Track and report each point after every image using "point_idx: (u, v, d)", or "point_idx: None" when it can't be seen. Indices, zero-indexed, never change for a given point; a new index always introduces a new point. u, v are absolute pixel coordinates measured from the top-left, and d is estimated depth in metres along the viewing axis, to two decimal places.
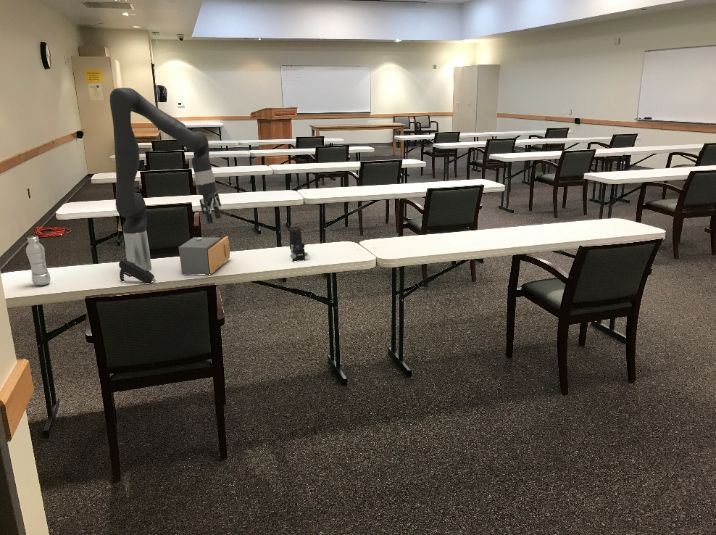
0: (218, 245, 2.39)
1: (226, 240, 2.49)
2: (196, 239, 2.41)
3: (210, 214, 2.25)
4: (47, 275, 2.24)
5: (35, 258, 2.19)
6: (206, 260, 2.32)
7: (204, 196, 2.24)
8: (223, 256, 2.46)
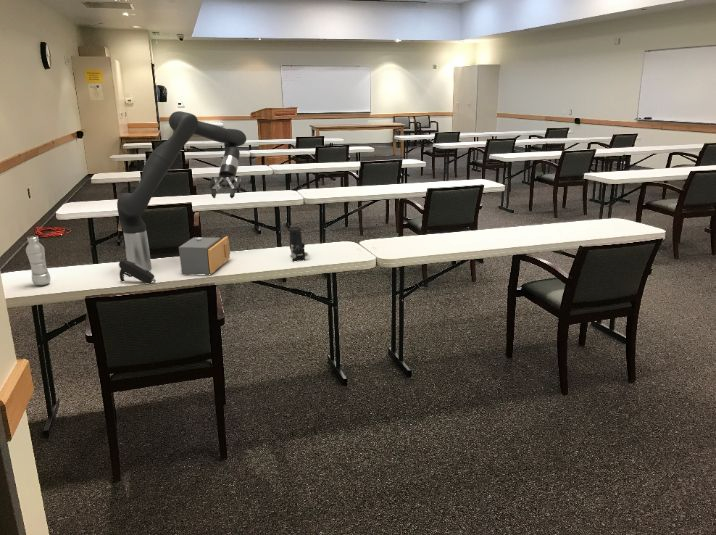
0: (218, 245, 2.39)
1: (226, 240, 2.49)
2: (196, 239, 2.41)
3: None
4: (47, 275, 2.24)
5: (35, 258, 2.19)
6: (206, 260, 2.32)
7: (234, 177, 2.59)
8: (223, 256, 2.46)
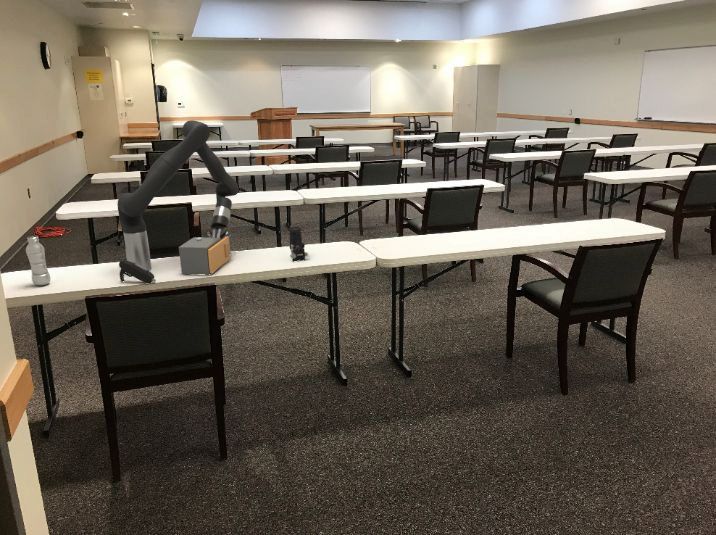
0: (218, 245, 2.39)
1: (226, 240, 2.49)
2: (196, 239, 2.41)
3: None
4: (47, 275, 2.24)
5: (35, 258, 2.19)
6: (206, 260, 2.32)
7: (226, 228, 2.54)
8: (223, 256, 2.46)
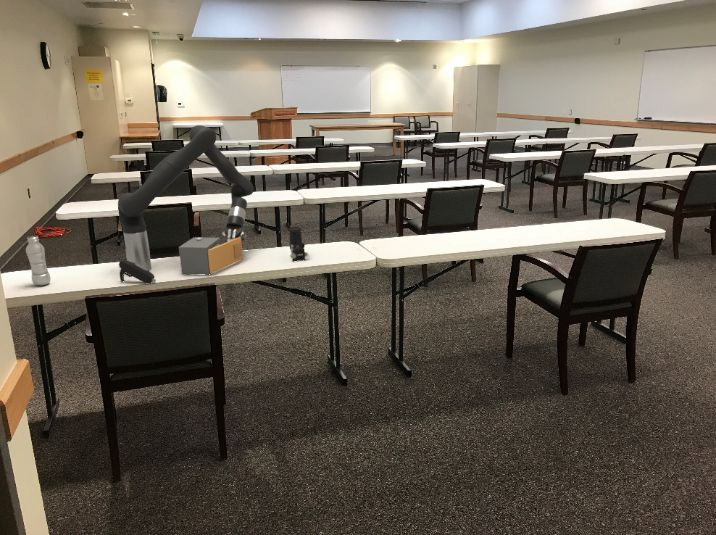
0: (224, 246, 2.38)
1: (238, 241, 2.47)
2: (196, 239, 2.41)
3: None
4: (47, 275, 2.24)
5: (35, 258, 2.19)
6: (206, 260, 2.32)
7: (242, 228, 2.53)
8: (231, 257, 2.44)
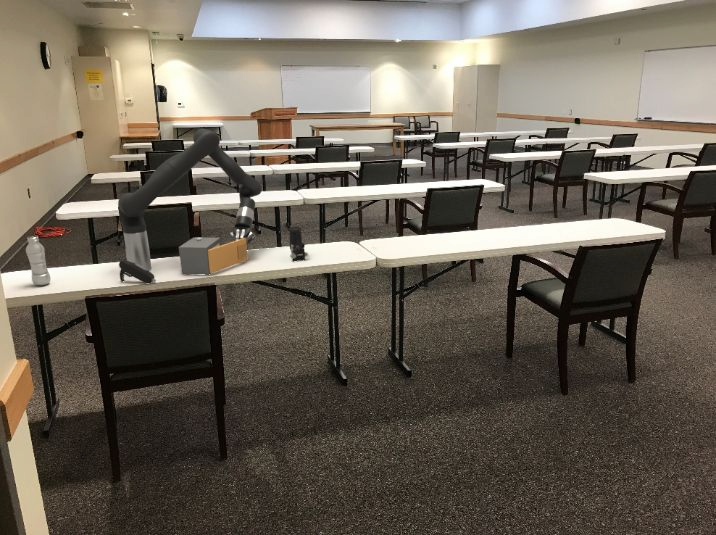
0: (226, 246, 2.38)
1: (242, 242, 2.46)
2: (196, 239, 2.41)
3: None
4: (47, 275, 2.24)
5: (35, 258, 2.19)
6: (206, 260, 2.32)
7: (250, 229, 2.53)
8: (235, 257, 2.43)
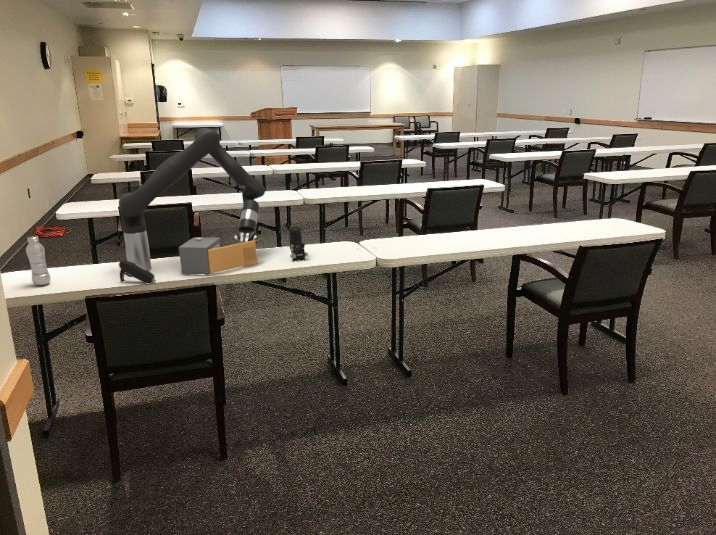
0: (230, 247, 2.36)
1: (250, 244, 2.42)
2: (196, 239, 2.41)
3: None
4: (47, 275, 2.24)
5: (35, 258, 2.19)
6: (206, 260, 2.32)
7: (254, 232, 2.48)
8: (240, 259, 2.40)
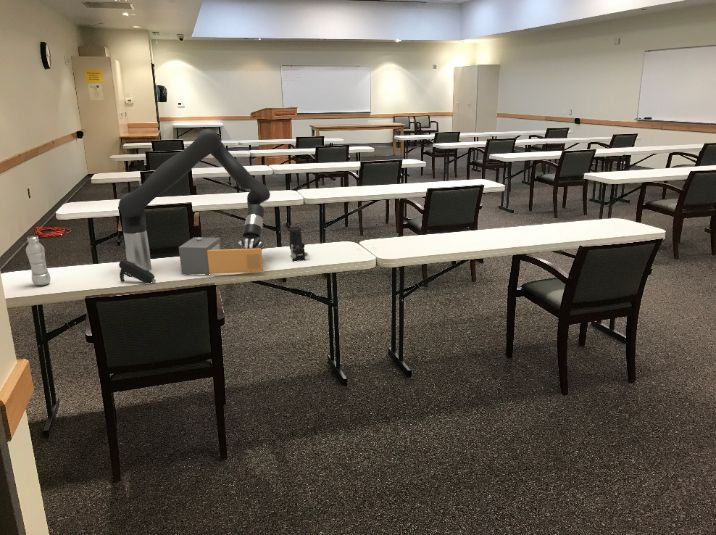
0: (231, 251, 2.30)
1: (255, 252, 2.31)
2: (196, 239, 2.41)
3: None
4: (47, 275, 2.24)
5: (35, 258, 2.19)
6: (206, 260, 2.32)
7: (259, 237, 2.38)
8: (243, 265, 2.32)
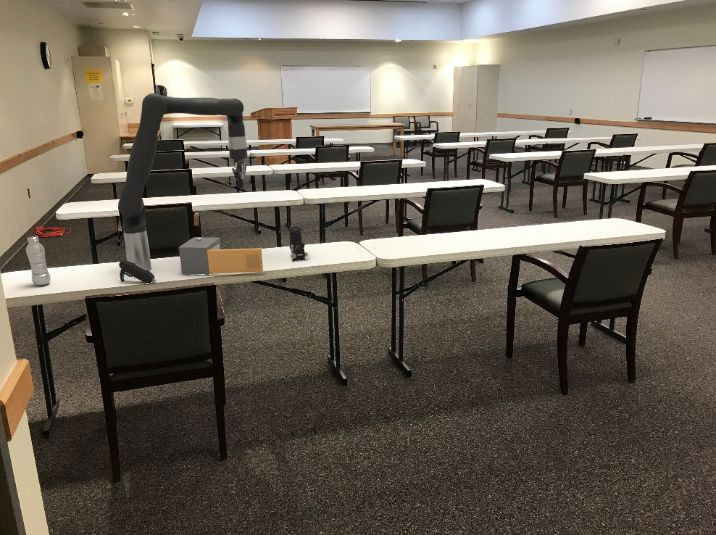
0: (231, 251, 2.30)
1: (255, 252, 2.31)
2: (196, 239, 2.41)
3: (242, 179, 2.42)
4: (47, 275, 2.24)
5: (35, 258, 2.19)
6: (206, 260, 2.32)
7: (235, 160, 2.36)
8: (243, 265, 2.32)
